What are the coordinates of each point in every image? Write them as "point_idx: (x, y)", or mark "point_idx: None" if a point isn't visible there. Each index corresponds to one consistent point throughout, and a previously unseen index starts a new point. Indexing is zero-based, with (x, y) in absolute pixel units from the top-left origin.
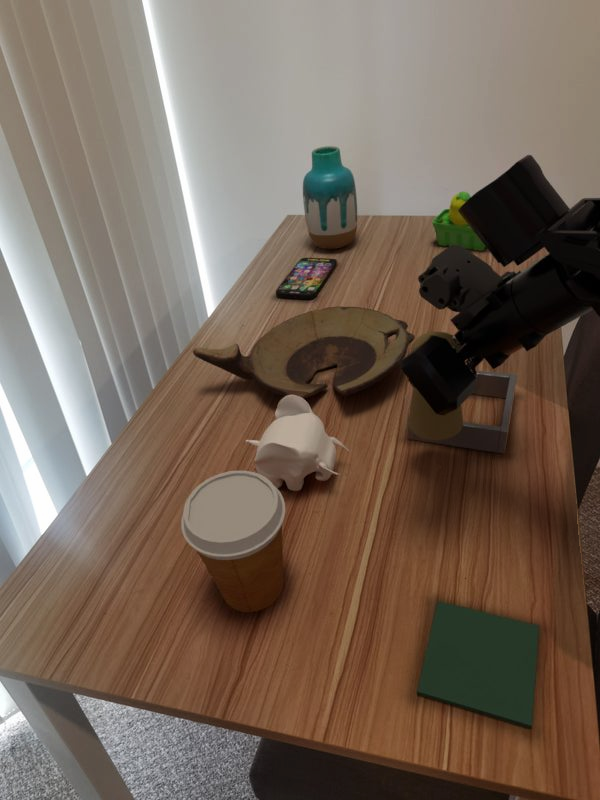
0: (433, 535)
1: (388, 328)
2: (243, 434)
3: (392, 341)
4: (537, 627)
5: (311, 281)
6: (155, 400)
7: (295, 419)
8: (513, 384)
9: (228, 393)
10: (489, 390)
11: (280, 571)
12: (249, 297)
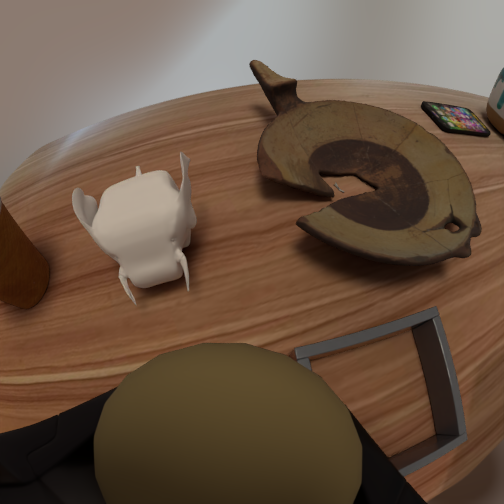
0: None
1: (460, 213)
2: (206, 162)
3: (446, 231)
4: None
5: (457, 122)
6: (225, 89)
7: (154, 190)
8: (446, 451)
9: (264, 121)
10: (438, 411)
11: (7, 300)
12: (402, 90)
